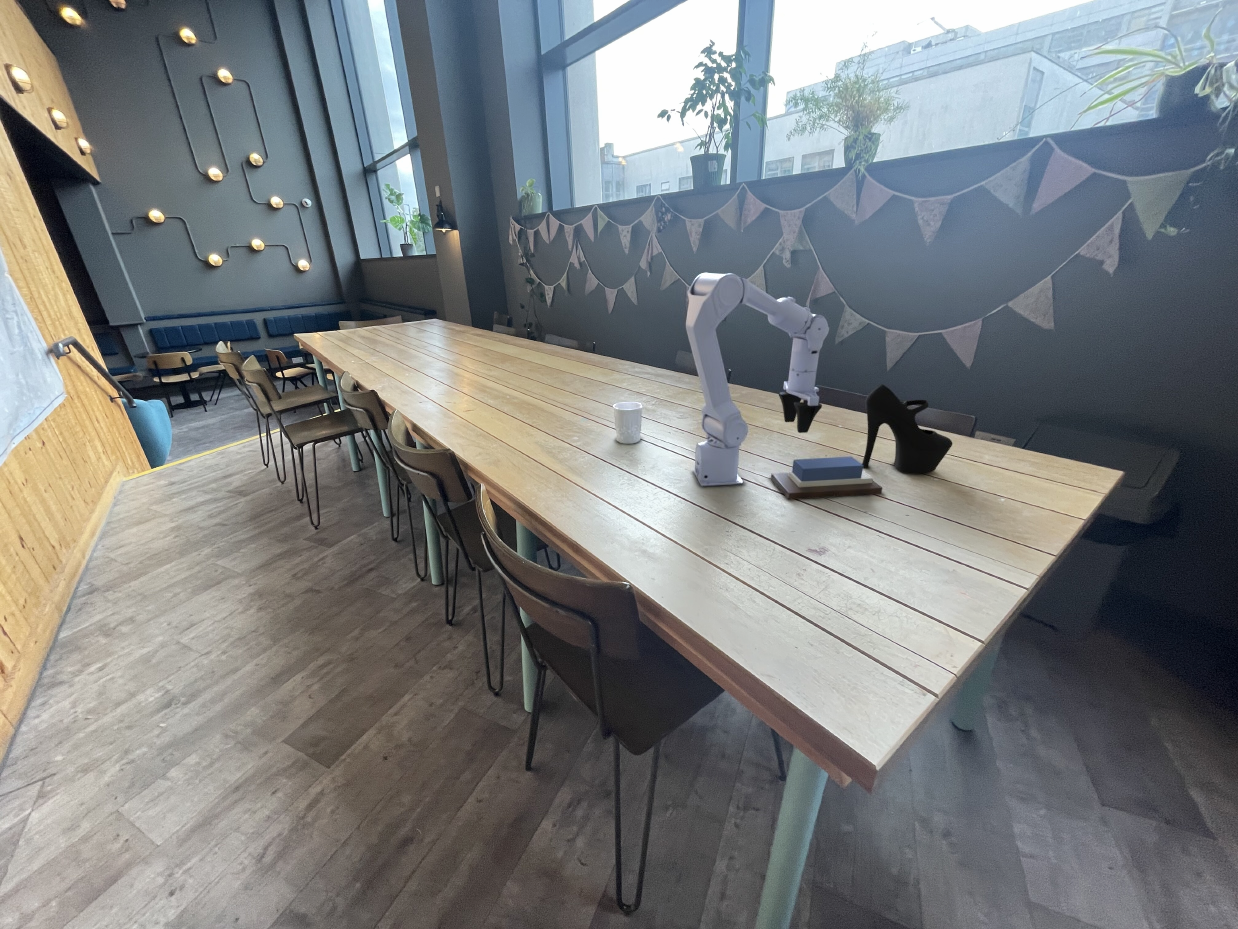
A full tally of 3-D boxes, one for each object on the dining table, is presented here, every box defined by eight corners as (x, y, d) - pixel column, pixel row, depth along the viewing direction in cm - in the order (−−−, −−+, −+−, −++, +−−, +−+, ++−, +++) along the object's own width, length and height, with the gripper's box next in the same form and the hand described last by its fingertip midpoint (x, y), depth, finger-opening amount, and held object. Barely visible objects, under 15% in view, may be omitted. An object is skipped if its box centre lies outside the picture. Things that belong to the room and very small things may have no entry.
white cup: (642, 444, 129) (642, 409, 125) (614, 445, 129) (612, 410, 125) (642, 434, 136) (641, 401, 132) (615, 435, 136) (613, 401, 132)
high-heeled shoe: (949, 477, 105) (974, 389, 97) (857, 472, 108) (874, 388, 100) (935, 463, 112) (957, 380, 104) (849, 459, 115) (864, 379, 107)
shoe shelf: (788, 499, 98) (789, 493, 97) (770, 479, 107) (771, 473, 106) (881, 494, 98) (882, 487, 98) (856, 474, 108) (857, 468, 107)
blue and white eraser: (798, 487, 99) (801, 469, 97) (788, 476, 104) (790, 459, 102) (872, 483, 100) (875, 465, 98) (858, 472, 105) (861, 455, 103)
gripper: (836, 375, 99) (826, 436, 104) (806, 362, 112) (799, 416, 117) (803, 377, 98) (795, 438, 104) (777, 363, 112) (771, 417, 117)
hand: (795, 426), depth 111 cm, fingers open, 7 cm apart
